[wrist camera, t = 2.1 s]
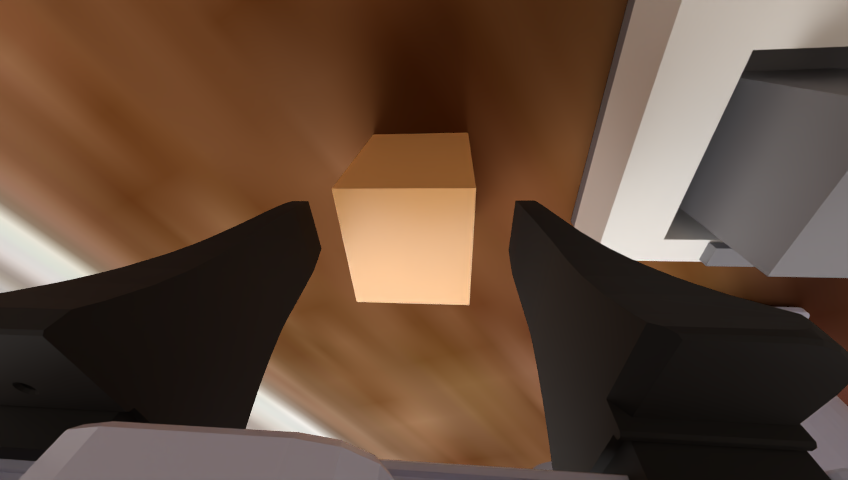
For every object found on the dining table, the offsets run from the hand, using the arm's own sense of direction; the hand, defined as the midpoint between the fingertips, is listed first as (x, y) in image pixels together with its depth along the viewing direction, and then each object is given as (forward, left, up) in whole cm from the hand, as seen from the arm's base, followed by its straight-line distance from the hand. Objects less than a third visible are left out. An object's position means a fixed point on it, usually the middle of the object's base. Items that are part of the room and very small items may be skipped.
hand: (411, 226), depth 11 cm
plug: (0, 0, -4) cm, 4 cm away
